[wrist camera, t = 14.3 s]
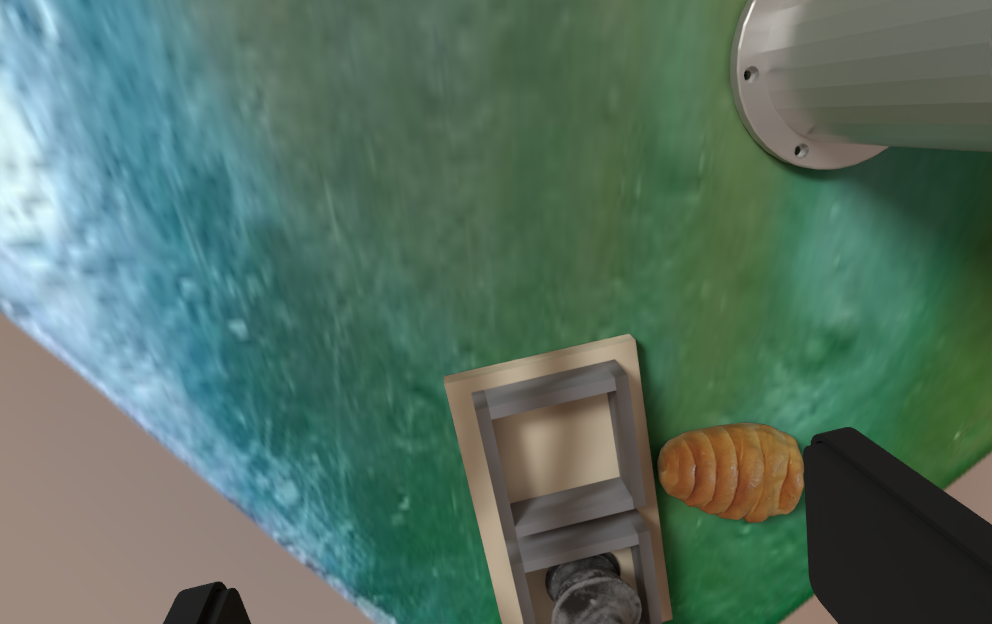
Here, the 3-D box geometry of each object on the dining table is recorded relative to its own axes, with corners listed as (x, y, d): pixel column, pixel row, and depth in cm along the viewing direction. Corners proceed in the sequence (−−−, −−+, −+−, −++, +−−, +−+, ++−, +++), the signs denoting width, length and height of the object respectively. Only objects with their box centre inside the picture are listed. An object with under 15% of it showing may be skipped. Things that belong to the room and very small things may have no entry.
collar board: (629, 333, 40) (649, 354, 37) (666, 607, 47) (686, 646, 43) (443, 376, 39) (446, 401, 36) (508, 648, 46) (516, 691, 43)
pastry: (643, 500, 44) (664, 533, 41) (662, 411, 42) (685, 438, 39) (767, 504, 46) (797, 537, 42) (789, 419, 44) (824, 445, 40)
